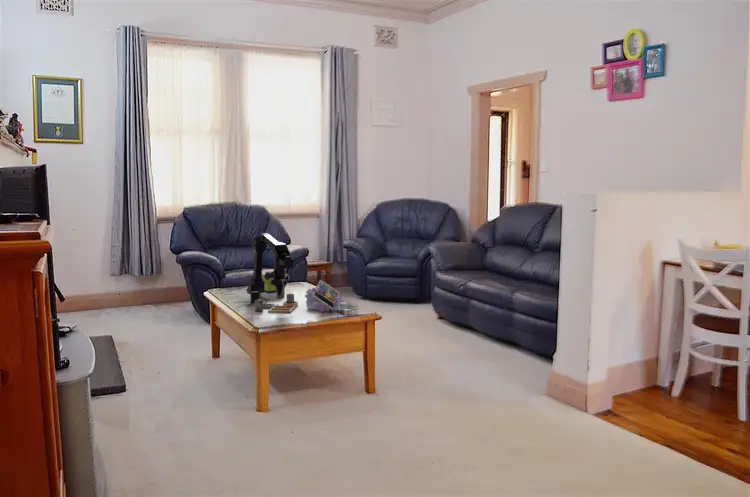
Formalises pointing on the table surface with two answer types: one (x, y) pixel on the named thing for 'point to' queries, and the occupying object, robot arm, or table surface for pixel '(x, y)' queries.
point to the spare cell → (258, 305)
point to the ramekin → (290, 304)
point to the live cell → (281, 294)
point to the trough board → (281, 309)
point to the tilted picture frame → (322, 297)
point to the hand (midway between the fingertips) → (280, 294)
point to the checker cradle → (269, 306)
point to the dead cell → (290, 298)
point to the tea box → (268, 288)
